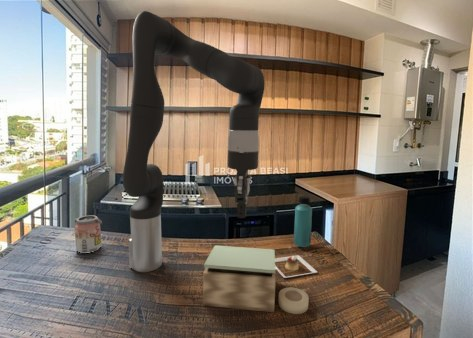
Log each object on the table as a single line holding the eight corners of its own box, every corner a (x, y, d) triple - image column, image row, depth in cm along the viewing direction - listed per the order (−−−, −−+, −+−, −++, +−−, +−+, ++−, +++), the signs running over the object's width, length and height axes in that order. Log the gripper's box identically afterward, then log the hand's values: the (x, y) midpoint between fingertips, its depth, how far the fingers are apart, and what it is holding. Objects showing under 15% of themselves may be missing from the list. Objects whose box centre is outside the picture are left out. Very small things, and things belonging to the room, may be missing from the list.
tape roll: (278, 312, 68) (279, 303, 67) (278, 294, 75) (278, 285, 75) (310, 315, 67) (310, 306, 66) (306, 296, 74) (306, 288, 74)
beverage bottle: (311, 252, 101) (314, 199, 98) (292, 250, 102) (295, 198, 99) (309, 244, 107) (313, 195, 104) (292, 242, 108) (295, 194, 105)
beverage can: (83, 243, 104) (81, 213, 102) (106, 243, 105) (104, 213, 103) (71, 255, 95) (68, 222, 93) (96, 254, 96) (94, 221, 94)
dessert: (267, 262, 94) (268, 249, 93) (298, 257, 97) (299, 245, 96) (283, 281, 82) (284, 266, 82) (318, 275, 86) (319, 261, 85)
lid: (203, 267, 68) (203, 264, 68) (214, 247, 82) (214, 245, 82) (275, 273, 66) (275, 270, 66) (274, 252, 80) (274, 249, 80)
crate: (203, 305, 70) (203, 272, 68) (214, 275, 83) (214, 248, 82) (274, 312, 68) (275, 278, 66) (273, 280, 81) (274, 252, 80)
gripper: (231, 146, 73) (230, 208, 76) (223, 150, 60) (222, 225, 63) (259, 147, 72) (257, 210, 75) (257, 152, 59) (254, 227, 62)
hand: (241, 217), depth 69 cm, fingers closed
